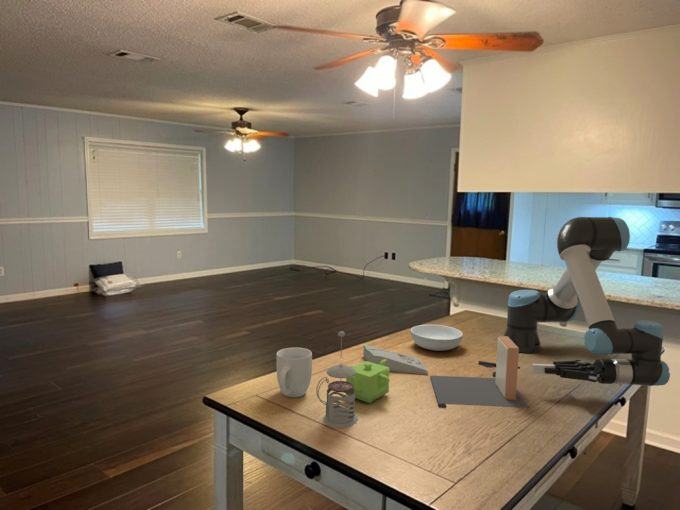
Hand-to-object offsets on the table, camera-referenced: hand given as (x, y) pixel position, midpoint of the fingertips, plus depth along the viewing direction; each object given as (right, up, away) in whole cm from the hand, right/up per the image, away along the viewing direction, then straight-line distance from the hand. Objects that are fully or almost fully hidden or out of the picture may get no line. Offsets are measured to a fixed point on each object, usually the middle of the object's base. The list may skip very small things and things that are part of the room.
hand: (532, 368), depth 148 cm
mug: (-74, -8, 0) cm, 75 cm away
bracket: (-4, -7, +21) cm, 23 cm away
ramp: (-40, -6, +27) cm, 48 cm away
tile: (-8, -8, +2) cm, 11 cm away
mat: (-17, -8, +3) cm, 19 cm away
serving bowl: (-20, -3, +48) cm, 52 cm away
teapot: (-51, -9, -1) cm, 52 cm away
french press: (-60, -11, -16) cm, 63 cm away
